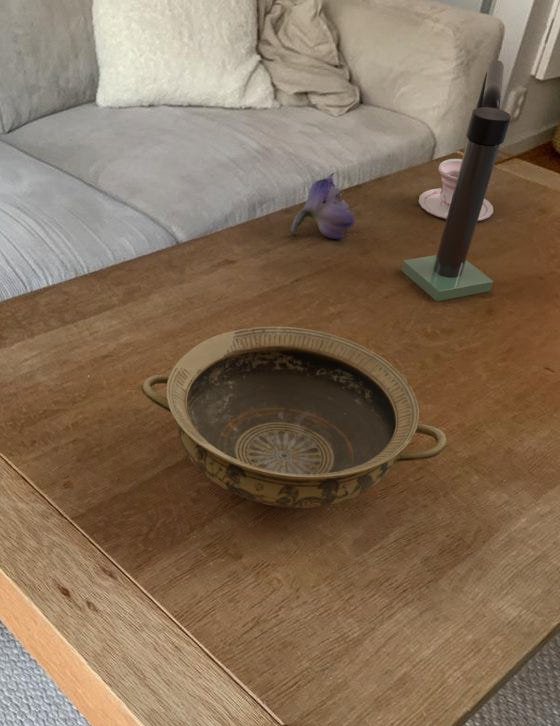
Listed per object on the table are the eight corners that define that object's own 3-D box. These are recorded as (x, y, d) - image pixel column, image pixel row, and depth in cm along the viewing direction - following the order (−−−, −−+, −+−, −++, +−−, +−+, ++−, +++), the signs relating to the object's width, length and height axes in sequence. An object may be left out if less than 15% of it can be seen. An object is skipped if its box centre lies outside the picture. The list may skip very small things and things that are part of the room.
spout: (485, 208, 105) (510, 122, 98) (449, 202, 106) (471, 116, 99) (493, 131, 126) (515, 56, 119) (463, 126, 127) (483, 51, 120)
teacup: (414, 188, 138) (423, 152, 134) (486, 194, 138) (496, 158, 134) (421, 220, 130) (431, 181, 125) (498, 226, 129) (510, 188, 125)
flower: (295, 206, 116) (350, 165, 116) (271, 206, 123) (323, 167, 124) (325, 261, 120) (378, 222, 120) (300, 258, 127) (350, 220, 128)
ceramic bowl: (436, 432, 90) (460, 356, 84) (415, 591, 73) (443, 513, 67) (177, 375, 96) (180, 300, 89) (101, 512, 79) (97, 432, 72)
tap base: (452, 261, 120) (491, 124, 107) (490, 291, 114) (536, 149, 101) (400, 270, 117) (433, 130, 104) (436, 301, 111) (476, 157, 98)
